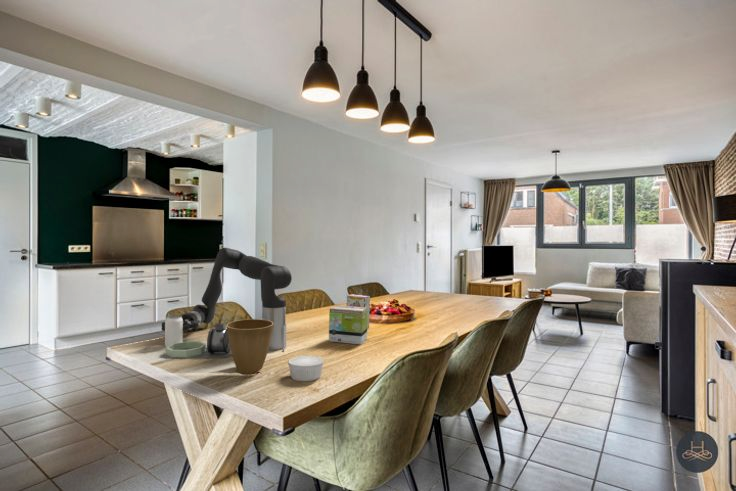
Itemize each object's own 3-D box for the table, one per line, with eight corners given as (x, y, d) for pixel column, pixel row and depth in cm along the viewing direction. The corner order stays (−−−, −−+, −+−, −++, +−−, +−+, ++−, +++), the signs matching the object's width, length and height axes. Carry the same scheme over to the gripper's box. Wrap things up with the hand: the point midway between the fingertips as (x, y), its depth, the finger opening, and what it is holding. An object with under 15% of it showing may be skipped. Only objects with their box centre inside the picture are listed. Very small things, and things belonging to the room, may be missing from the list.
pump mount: (237, 349, 157) (237, 341, 157) (226, 360, 143) (226, 350, 143) (175, 349, 156) (175, 341, 156) (158, 360, 142) (158, 350, 142)
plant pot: (218, 370, 132) (218, 322, 132) (258, 361, 142) (259, 317, 142) (239, 382, 121) (239, 330, 121) (281, 372, 132) (282, 324, 131)
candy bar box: (345, 327, 202) (346, 295, 201) (351, 325, 206) (351, 294, 206) (364, 330, 196) (364, 297, 195) (369, 328, 200) (370, 296, 200)
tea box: (328, 342, 171) (328, 308, 171) (335, 337, 181) (336, 304, 181) (361, 345, 168) (362, 310, 168) (367, 339, 178) (368, 306, 177)
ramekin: (285, 373, 131) (285, 357, 131) (318, 369, 135) (318, 354, 135) (291, 384, 120) (291, 367, 120) (327, 380, 124) (327, 364, 124)
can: (175, 348, 158) (175, 318, 157) (161, 347, 159) (161, 317, 159) (186, 344, 164) (186, 315, 164) (172, 343, 165) (172, 314, 165)
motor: (232, 349, 154) (233, 321, 154) (225, 355, 145) (226, 326, 145) (214, 349, 154) (215, 321, 154) (206, 355, 145) (207, 326, 145)
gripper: (173, 312, 177) (155, 319, 161) (205, 312, 178) (191, 319, 161) (173, 328, 177) (155, 337, 161) (205, 329, 178) (191, 337, 161)
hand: (173, 328), depth 161 cm, fingers open, 8 cm apart
